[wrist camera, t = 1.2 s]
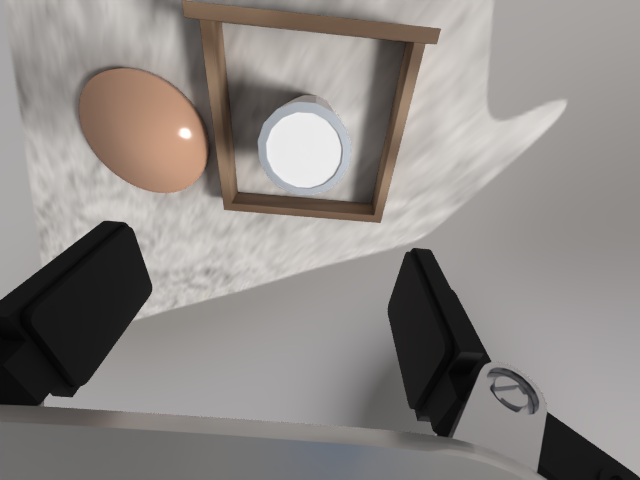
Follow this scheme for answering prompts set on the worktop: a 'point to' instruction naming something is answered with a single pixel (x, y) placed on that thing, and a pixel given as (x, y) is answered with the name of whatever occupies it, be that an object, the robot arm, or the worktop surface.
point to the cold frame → (217, 14)
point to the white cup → (304, 146)
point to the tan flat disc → (144, 129)
